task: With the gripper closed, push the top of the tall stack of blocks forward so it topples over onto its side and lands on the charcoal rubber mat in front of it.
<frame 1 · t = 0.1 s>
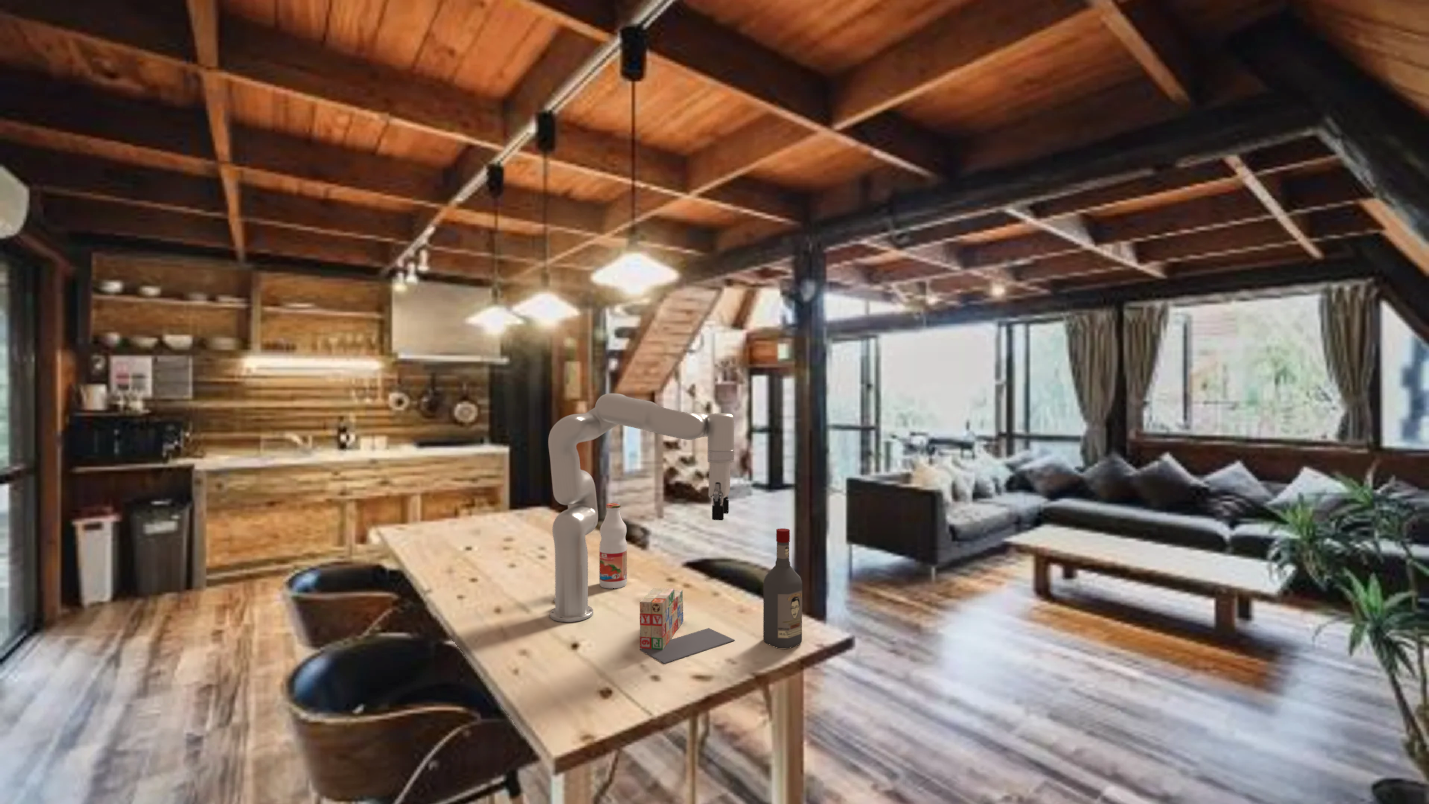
hand: (720, 516, 182), 31 cm above the table, tool pointing down, fingers open, 9 cm apart
fruit juice: (613, 585, 220), on the table
stack of blocks: (662, 635, 175), on the table, touching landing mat
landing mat: (688, 645, 168), on the table
liquor: (782, 642, 171), on the table
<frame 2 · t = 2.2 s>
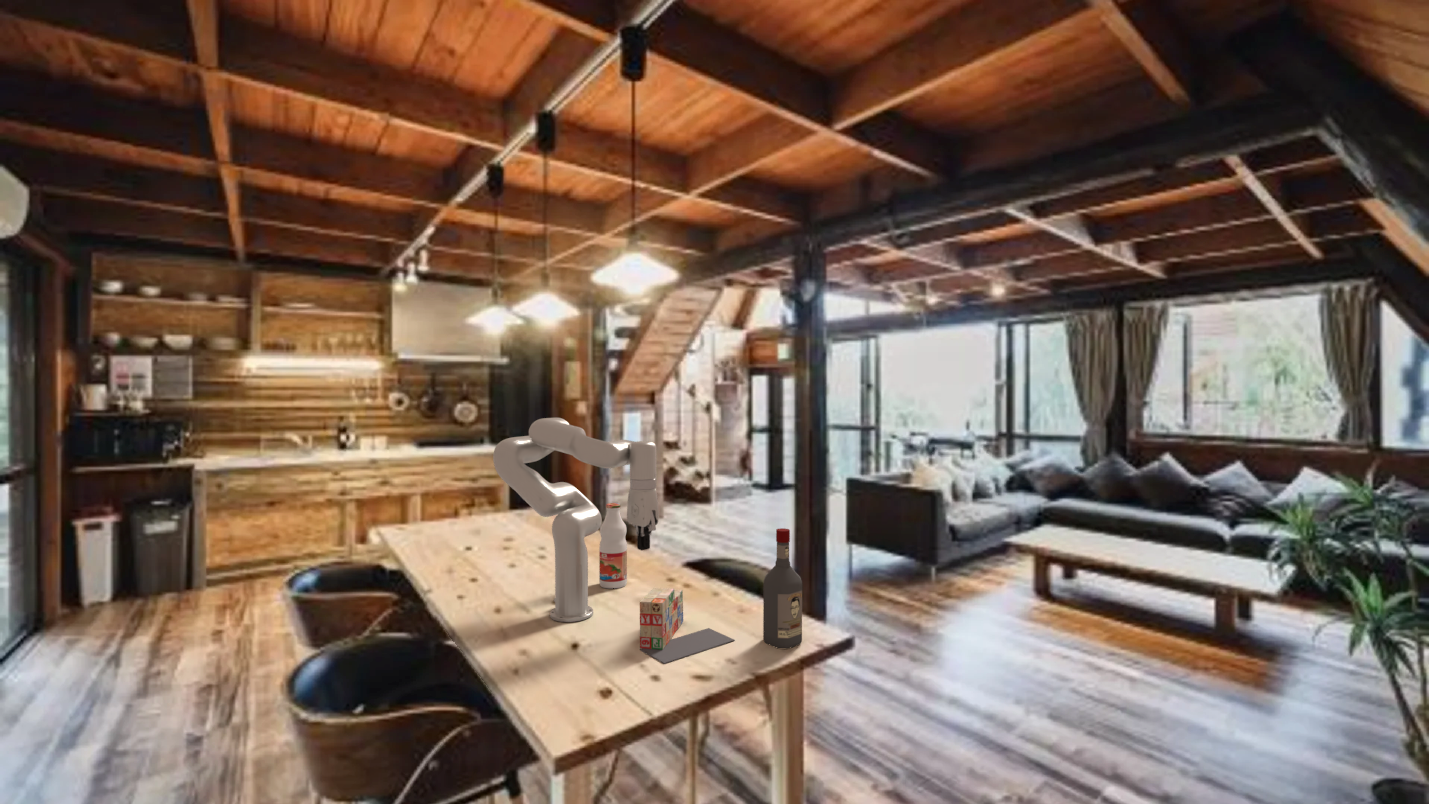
hand: (643, 548, 182), 22 cm above the table, tool pointing down, fingers closed
nothing on the table moved.
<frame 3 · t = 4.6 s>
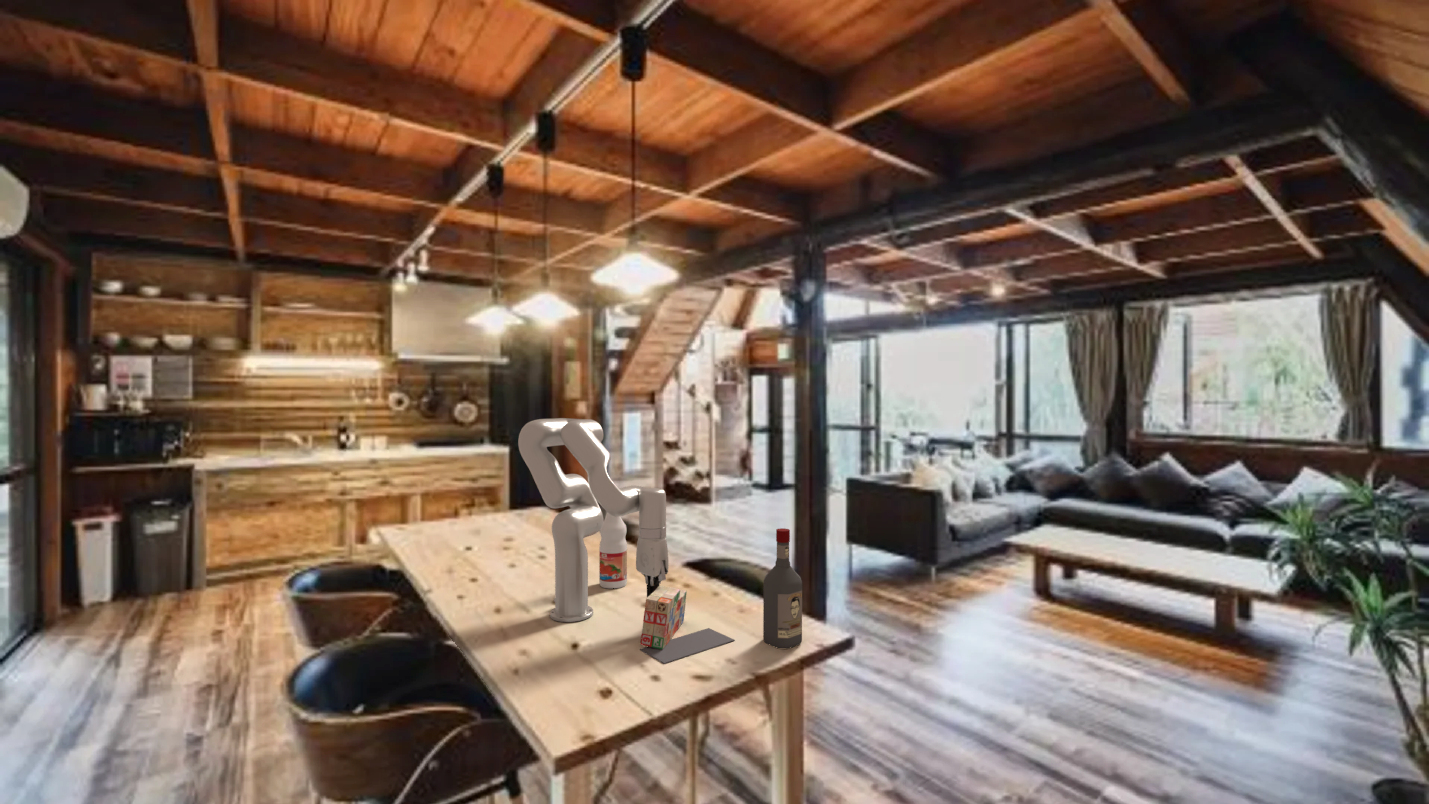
hand: (653, 598, 179), 9 cm above the table, tool pointing down, fingers closed
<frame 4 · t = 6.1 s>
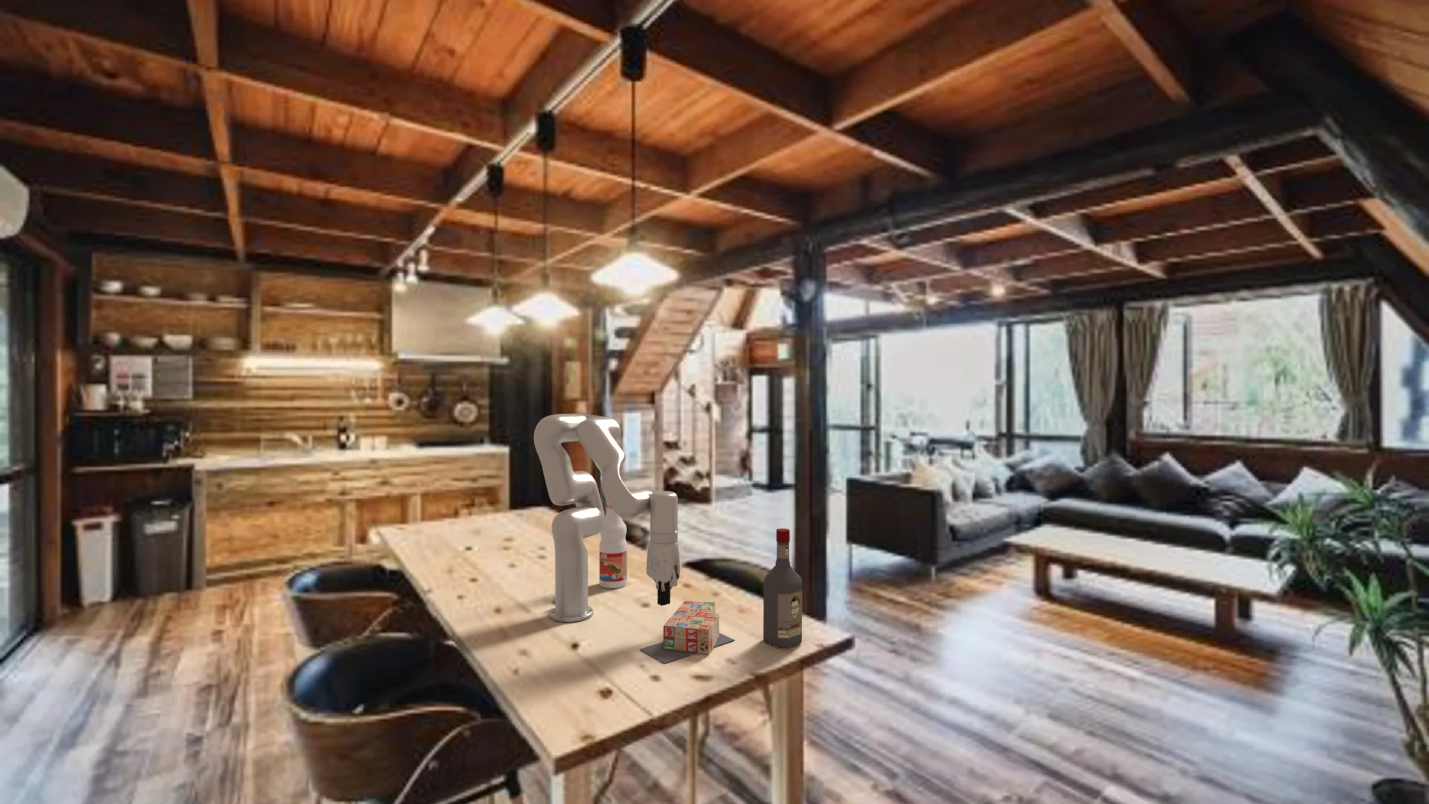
hand: (663, 604, 174), 9 cm above the table, tool pointing down, fingers closed
stack of blocks: (673, 623, 174), point 3 cm above the table, touching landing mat
everything else where it was.
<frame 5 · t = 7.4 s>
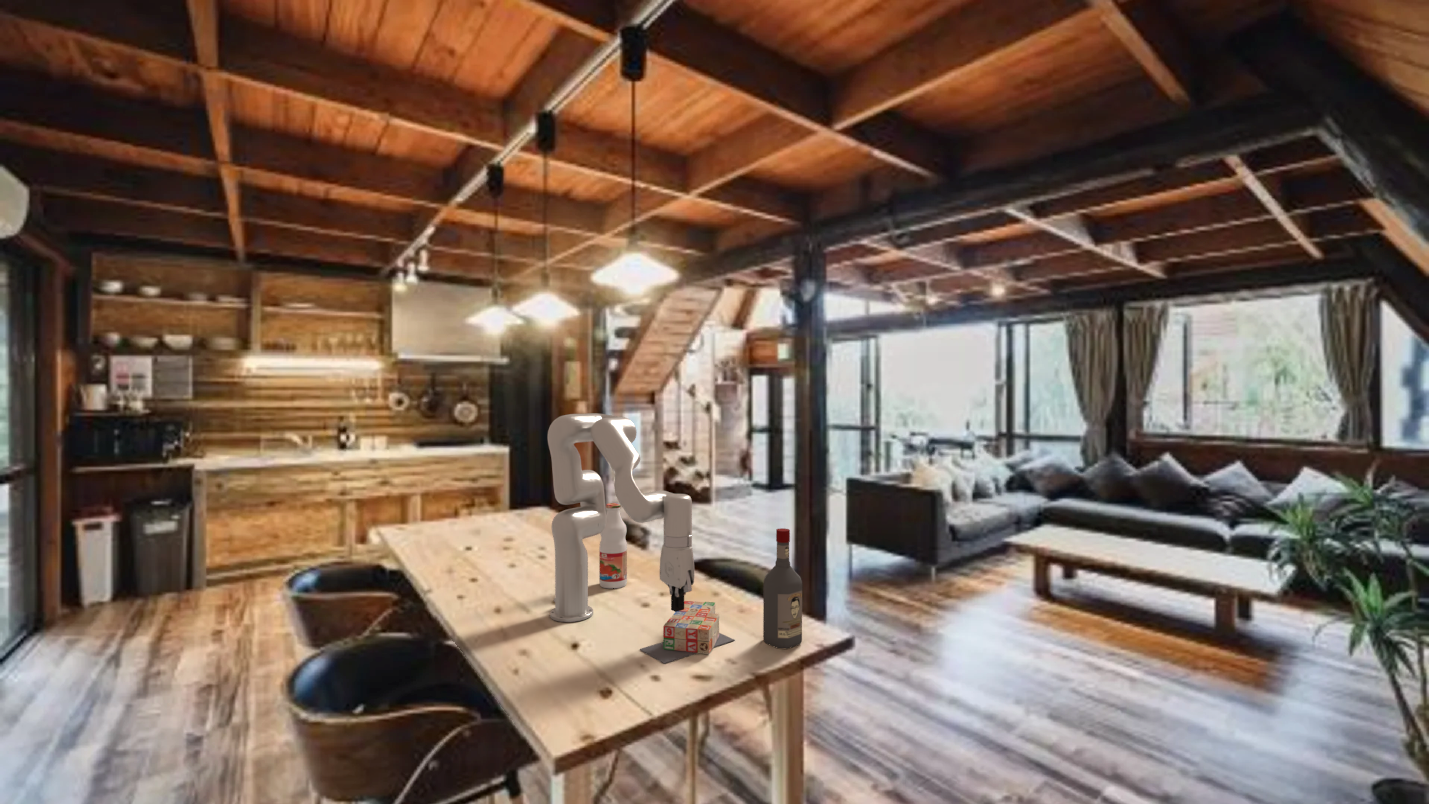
hand: (677, 609, 170), 9 cm above the table, tool pointing down, fingers closed
nothing on the table moved.
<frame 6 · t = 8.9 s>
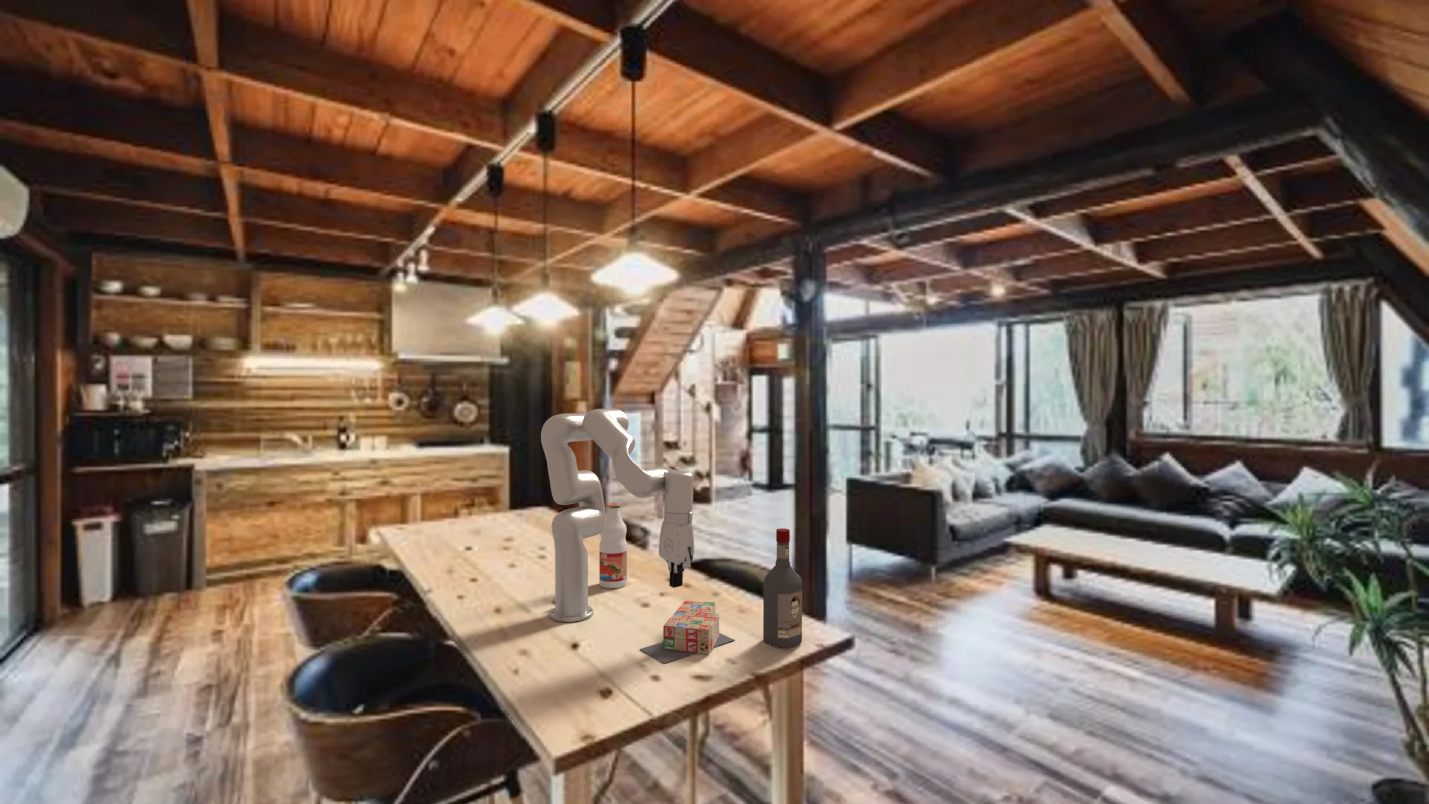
hand: (675, 586, 170), 15 cm above the table, tool pointing down, fingers closed
nothing on the table moved.
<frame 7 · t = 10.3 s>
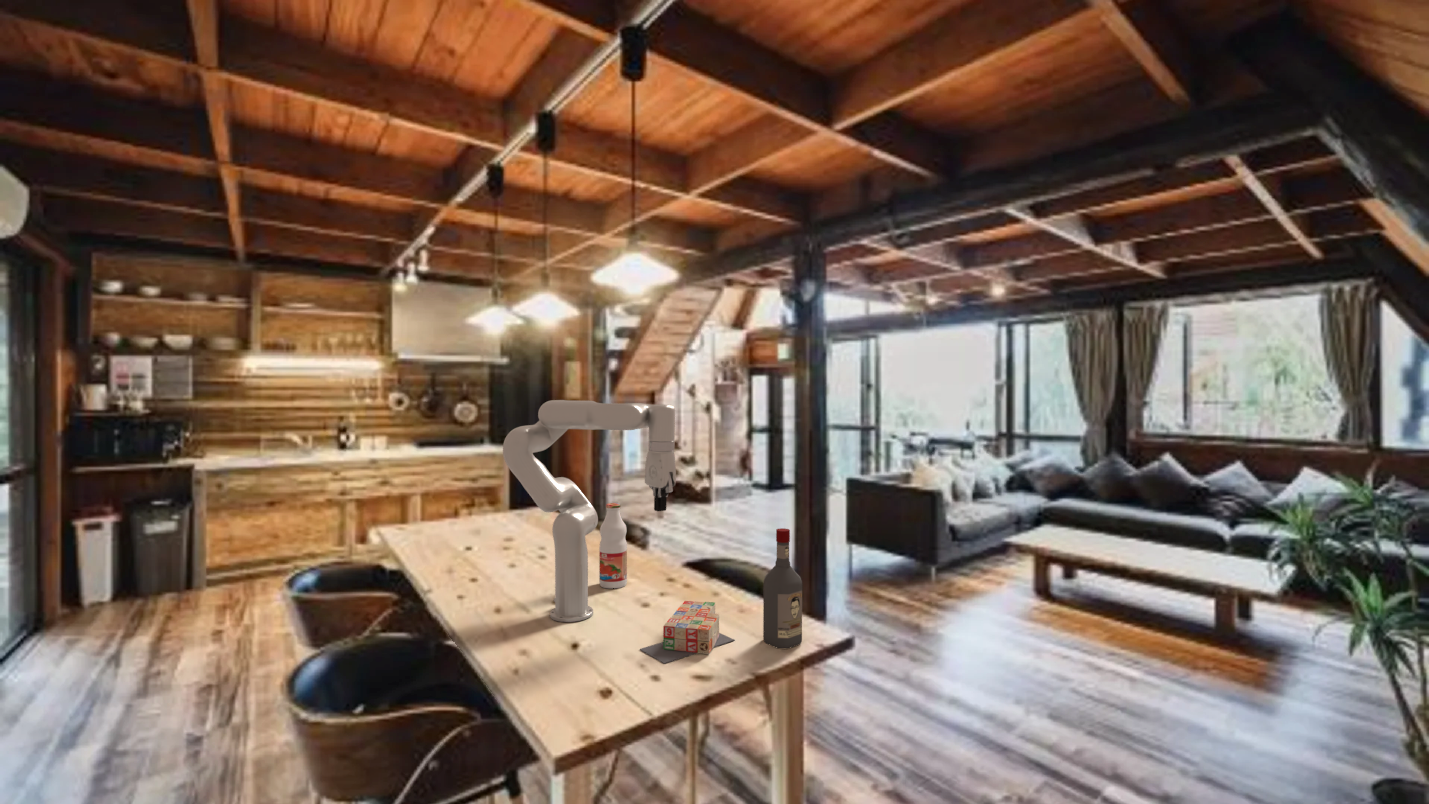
hand: (660, 510, 185), 32 cm above the table, tool pointing down, fingers closed
nothing on the table moved.
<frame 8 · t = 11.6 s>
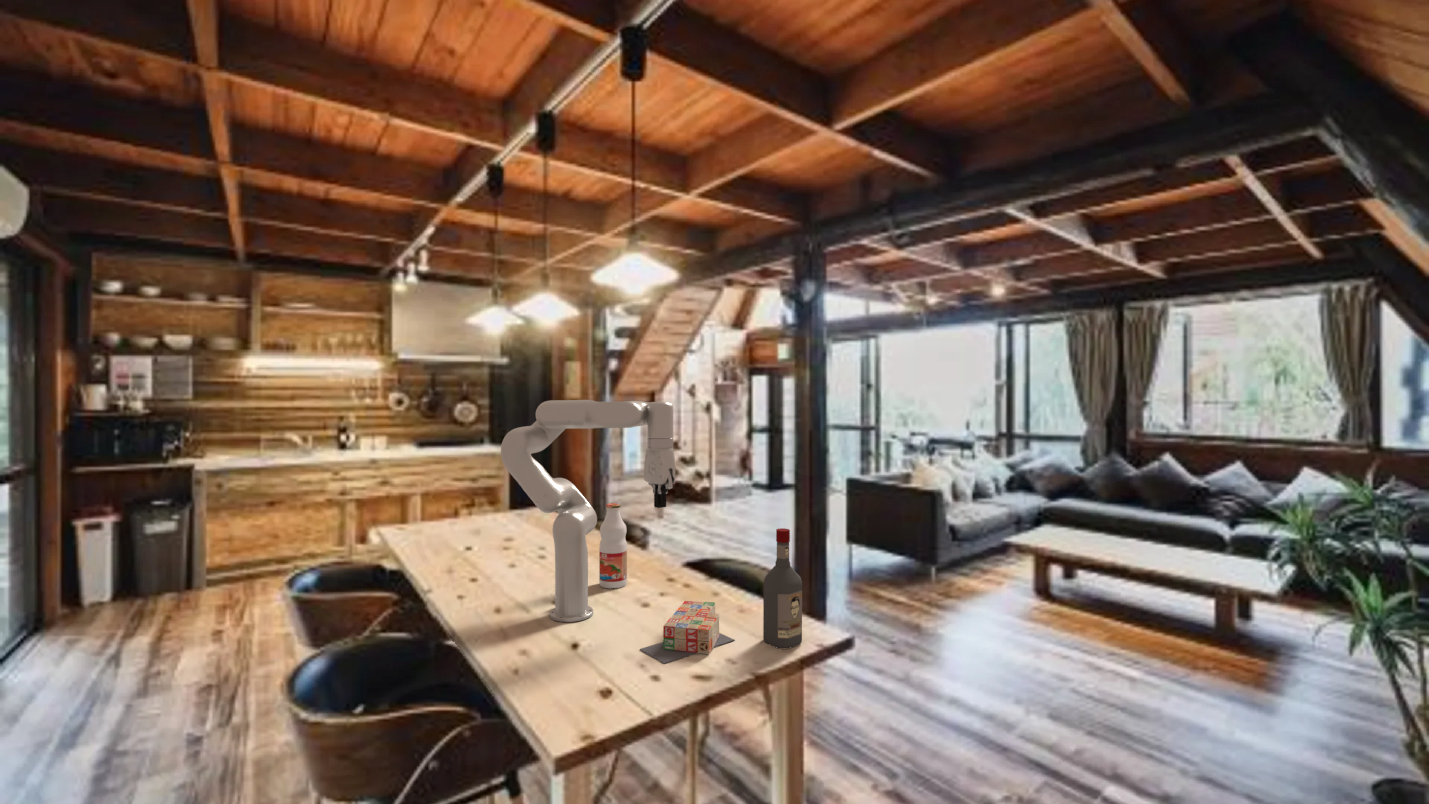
hand: (660, 507, 186), 33 cm above the table, tool pointing down, fingers closed
nothing on the table moved.
at the end: stack of blocks tilted 90°; stack of blocks touching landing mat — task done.
